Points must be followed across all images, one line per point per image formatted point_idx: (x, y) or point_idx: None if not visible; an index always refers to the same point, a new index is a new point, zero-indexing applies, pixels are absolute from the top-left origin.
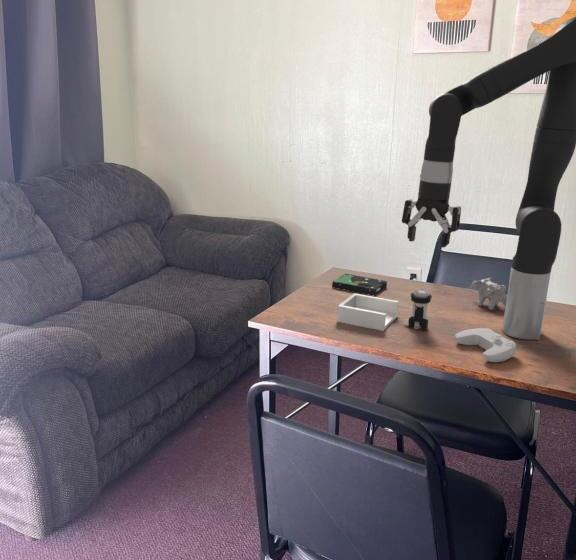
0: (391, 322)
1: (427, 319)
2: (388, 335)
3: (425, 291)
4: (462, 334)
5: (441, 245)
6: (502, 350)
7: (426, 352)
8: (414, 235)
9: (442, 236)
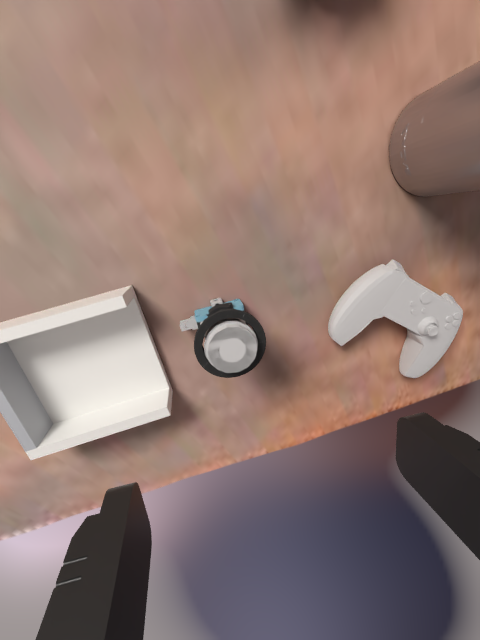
0: (151, 335)
1: (242, 310)
2: (196, 400)
3: (241, 338)
4: (348, 330)
5: (409, 478)
6: (441, 352)
7: (299, 408)
8: (132, 538)
9: (476, 554)
